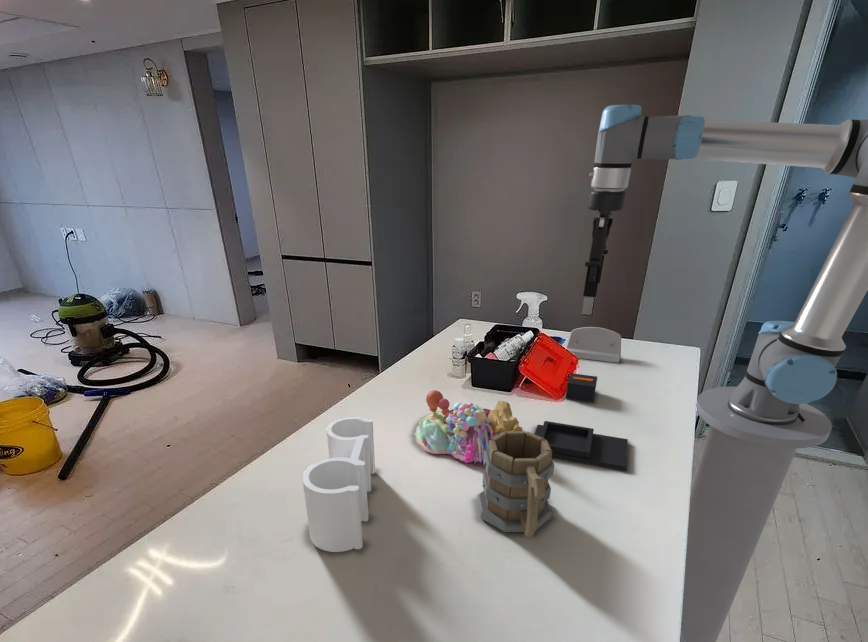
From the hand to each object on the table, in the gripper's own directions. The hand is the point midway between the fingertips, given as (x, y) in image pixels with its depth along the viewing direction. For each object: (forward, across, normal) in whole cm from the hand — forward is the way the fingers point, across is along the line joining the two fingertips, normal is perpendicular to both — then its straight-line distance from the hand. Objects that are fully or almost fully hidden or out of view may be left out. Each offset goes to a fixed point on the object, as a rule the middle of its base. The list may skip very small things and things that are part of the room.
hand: (591, 289), depth 119 cm
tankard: (+29, +54, -4) cm, 62 cm away
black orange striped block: (+29, -4, +1) cm, 29 cm away
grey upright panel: (+29, -35, +2) cm, 45 cm away
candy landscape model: (+29, +28, -20) cm, 46 cm away
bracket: (+29, +60, -35) cm, 76 cm away
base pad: (+29, +24, +4) cm, 38 cm away
